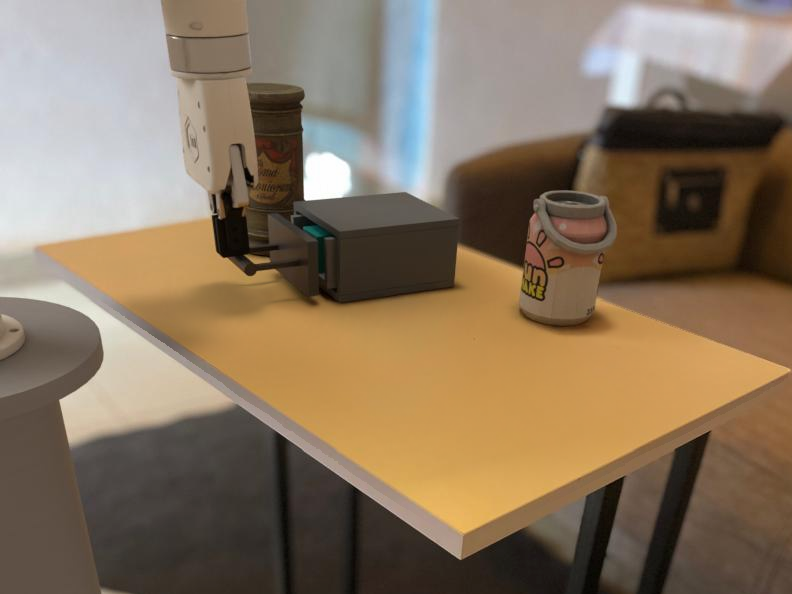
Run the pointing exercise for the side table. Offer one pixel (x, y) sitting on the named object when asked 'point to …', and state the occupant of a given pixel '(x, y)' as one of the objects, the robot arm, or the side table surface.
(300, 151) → the container
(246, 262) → the tray
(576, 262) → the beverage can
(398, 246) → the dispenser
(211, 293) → the side table surface
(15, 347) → the robot arm
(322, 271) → the block
